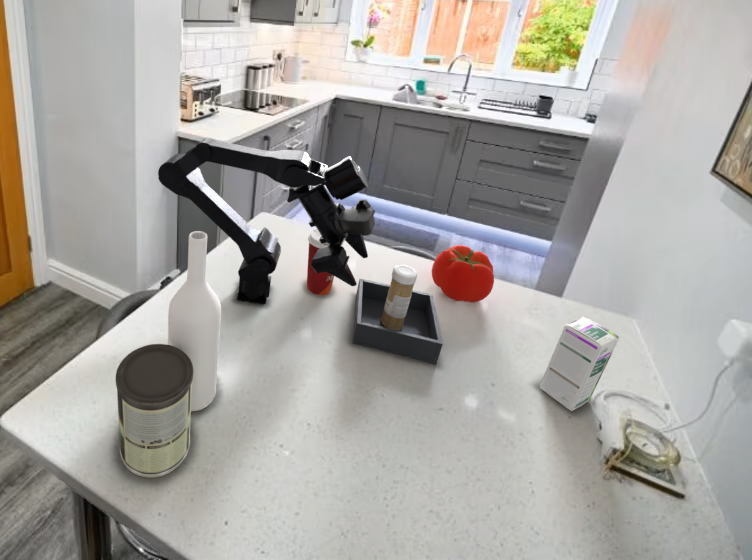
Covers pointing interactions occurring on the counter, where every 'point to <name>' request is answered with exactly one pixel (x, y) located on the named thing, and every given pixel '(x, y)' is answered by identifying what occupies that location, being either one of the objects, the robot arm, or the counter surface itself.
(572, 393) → the syrup box
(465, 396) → the counter surface
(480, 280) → the tomato
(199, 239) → the bottle
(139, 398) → the coffee can
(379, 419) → the counter surface
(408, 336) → the bin
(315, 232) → the paper cup
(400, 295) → the sprinkles bottle
